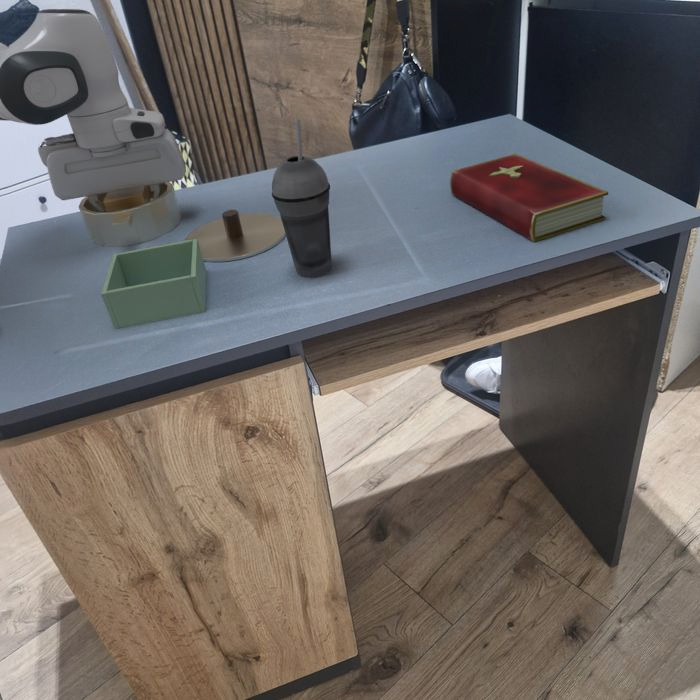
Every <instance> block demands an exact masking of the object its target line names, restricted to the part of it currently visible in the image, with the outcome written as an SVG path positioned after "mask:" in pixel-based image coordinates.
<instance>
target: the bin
mask: <svg viewBox="0 0 700 700" xmlns="http://www.w3.org/2000/svg"><path fill="white" fill-rule="evenodd" d="M100 293H101V294H100V295H101V298H102V301H103V302H104V305H105V308H106V310H107V313H108V316H109V318H110V320H111V321H110V322H111V323H112V326H113V327H114V328H113V329H115V330H117V329H122V328H127V327H132V326H138V325H142V324H147V323H152V322H158V321H163V320H168V319H174V318H179V317H184V316H188V315H194V314H200V313H204V312H205V313H206V312H207V269H206V265H205V261H203V258H202V254H201V250H200V247H199V243H198V240H197V239H193V240H187V241H185V240H183V241H176V242H172V243H171V242H170V243H166V244H160V245H155V246H150V247H149V246H148V247H145V248H140V249H134V250H128V251H122V252H117V253H113V254H112V256H111V260H110V263H109V266H108V269H107V273H106V276H105V280H104V283H103V285H102V289H101V292H100Z"/></svg>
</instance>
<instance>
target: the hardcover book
mask: <svg viewBox="0 0 700 700" xmlns="http://www.w3.org/2000/svg"><path fill="white" fill-rule="evenodd" d="M449 179H450V180H449V185H450V186H449V187H450V192H451V194H452V196H454V197H455V198H457V199H459V200H461V201H462V202H464V203H466V204H467V203H468V205H469V206H471V207H472V208H474V207H475V209H476V210H478V211H479V212H481V213H483V214H485V215H486V216H488V217H490V218H492V219H493V220H495V221H497V222H498V223H500V224H502V225H504V226H505V227H507V228H509V229H511V230H512V231H514V232H516V233H518V234H519V235H521V236H523V237H524V238H527V239H528V240H530V241H532V242H533V243H537V242H540V241H542V240H546V239H549V238H552V237H556V236H559V235H562V234H565V233H569V232H571V231H575V230H576V229H580V228H584V227H586V226H590V225H593V224H595V223H599V222H602V221H604V220H606V216H605V215H603V214H602V213H603V206H604V205H603V204H604V197H606V196H609V192H608V191H607V190H604V189H602V188H599V187H597V186H595V185H592V184H591V183H588V182H585V181H583V180H580V179H578V178H576V177H573V176H570V175H569V174H566V173H563V172H561V171H560V170H556V169H554V168H552V167H549V166H546V165H544V164H542V163H541V162H540V163H539V162H537V161H535V160H532V159H530V158H528V157H525V156H523V155H521V154H518V153H511V154H508V155H504V156H501V157H498V158H494V159H490V160H487V161H483V162H479V163H475V164H472V165H469V166H465V167H461V168H457V169H454V170H451V172H450V178H449Z"/></svg>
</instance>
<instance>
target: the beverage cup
mask: <svg viewBox="0 0 700 700" xmlns="http://www.w3.org/2000/svg"><path fill="white" fill-rule="evenodd" d="M301 126H302V125H301V119H296V120H295V127H296V145H297V146H296V147H297V155H294V156H291V157H288V158H286V159H284V160H283V161H282V162H281V163H280V164H279V165H277V167H276V169H275V171H274V173H273V177H272V180H271V181H272V182H271V197H272V199H273V200H274V205H275V206H276V210H277V212H278V213H279V216H280V219H281V220H282V223H283V227H284V230H285V234H286V235H285V237H286V241H287V244H288V247H289V251H290V254H291V259H292V262H293V265H294V268H295V270H296V272H297V274H298V276H299V277H301V278H306V279H307V278H308V279H312V278H313V279H314V278H319V277H322V276H325V275H326V274H328V273H329V272H330V271H331V269H332V247H331V246H332V245H331V230H330V212H329V211H330V209H329V205H330V190H331V184H330V183H329V180H328V176H327V173H326V171H325V170H324V168H323V167H322V166H321V165H320V164H319V163H318V162H317V161H316V160H314V159H313V158H311V157H308V156H305V155H303V144H302V128H301Z"/></svg>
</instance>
